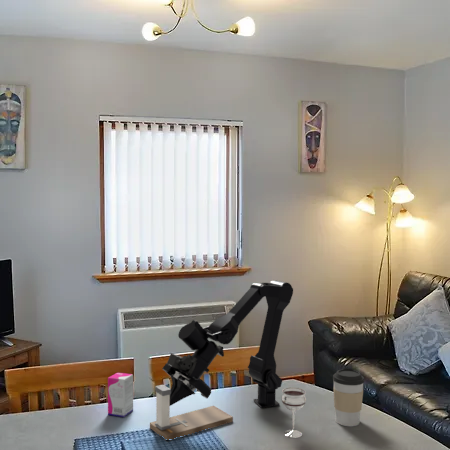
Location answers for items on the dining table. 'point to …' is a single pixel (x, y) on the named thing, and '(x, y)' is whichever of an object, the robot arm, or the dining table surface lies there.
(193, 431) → the wooden board
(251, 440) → the dining table surface
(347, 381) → the coffee cup
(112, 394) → the supplement box
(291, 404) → the wineglass
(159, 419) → the lever
